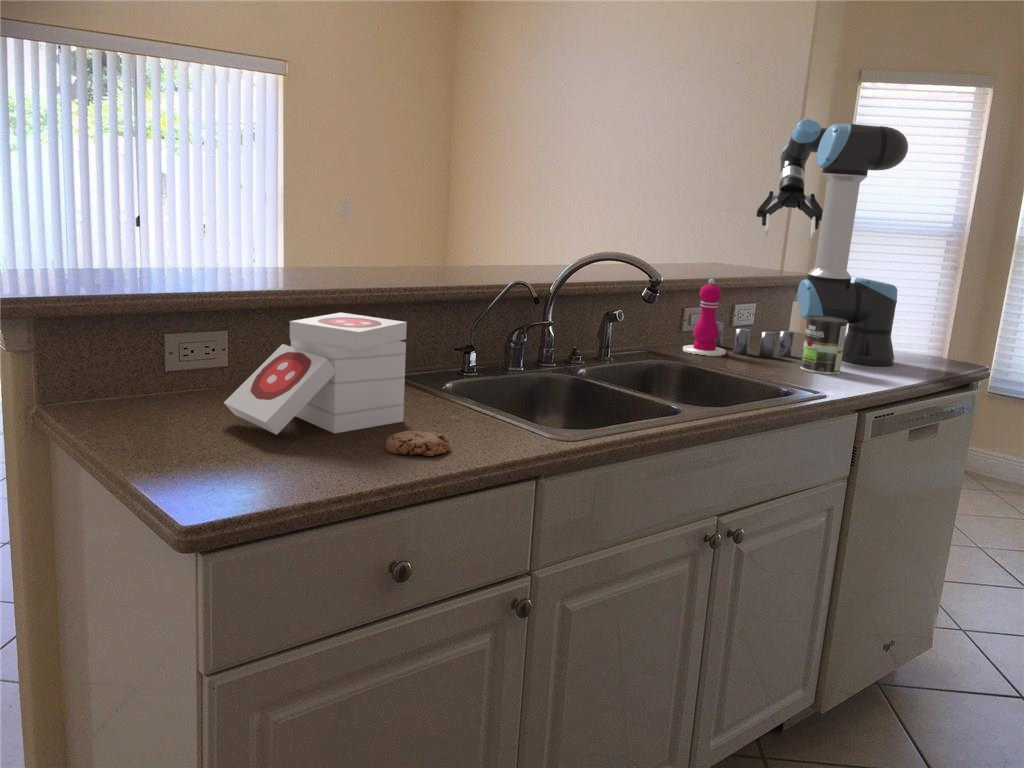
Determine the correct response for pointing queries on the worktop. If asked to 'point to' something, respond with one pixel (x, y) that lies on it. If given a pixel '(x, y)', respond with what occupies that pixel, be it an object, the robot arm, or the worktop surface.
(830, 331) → the coffee can
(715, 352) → the disc
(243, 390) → the pizza boxes
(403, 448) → the cookie
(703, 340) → the pepper mill
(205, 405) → the worktop surface
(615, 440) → the worktop surface
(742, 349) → the posts
